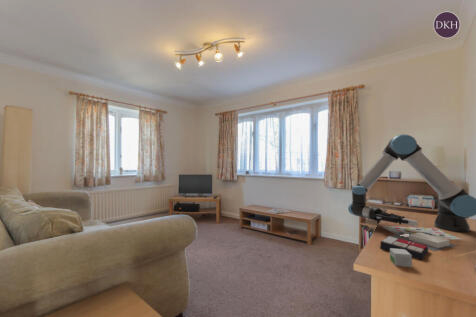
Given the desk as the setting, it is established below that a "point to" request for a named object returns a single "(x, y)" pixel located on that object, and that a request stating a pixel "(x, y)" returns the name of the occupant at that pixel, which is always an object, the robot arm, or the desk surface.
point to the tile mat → (420, 243)
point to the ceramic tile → (429, 240)
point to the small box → (400, 257)
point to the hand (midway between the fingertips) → (416, 223)
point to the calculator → (405, 247)
